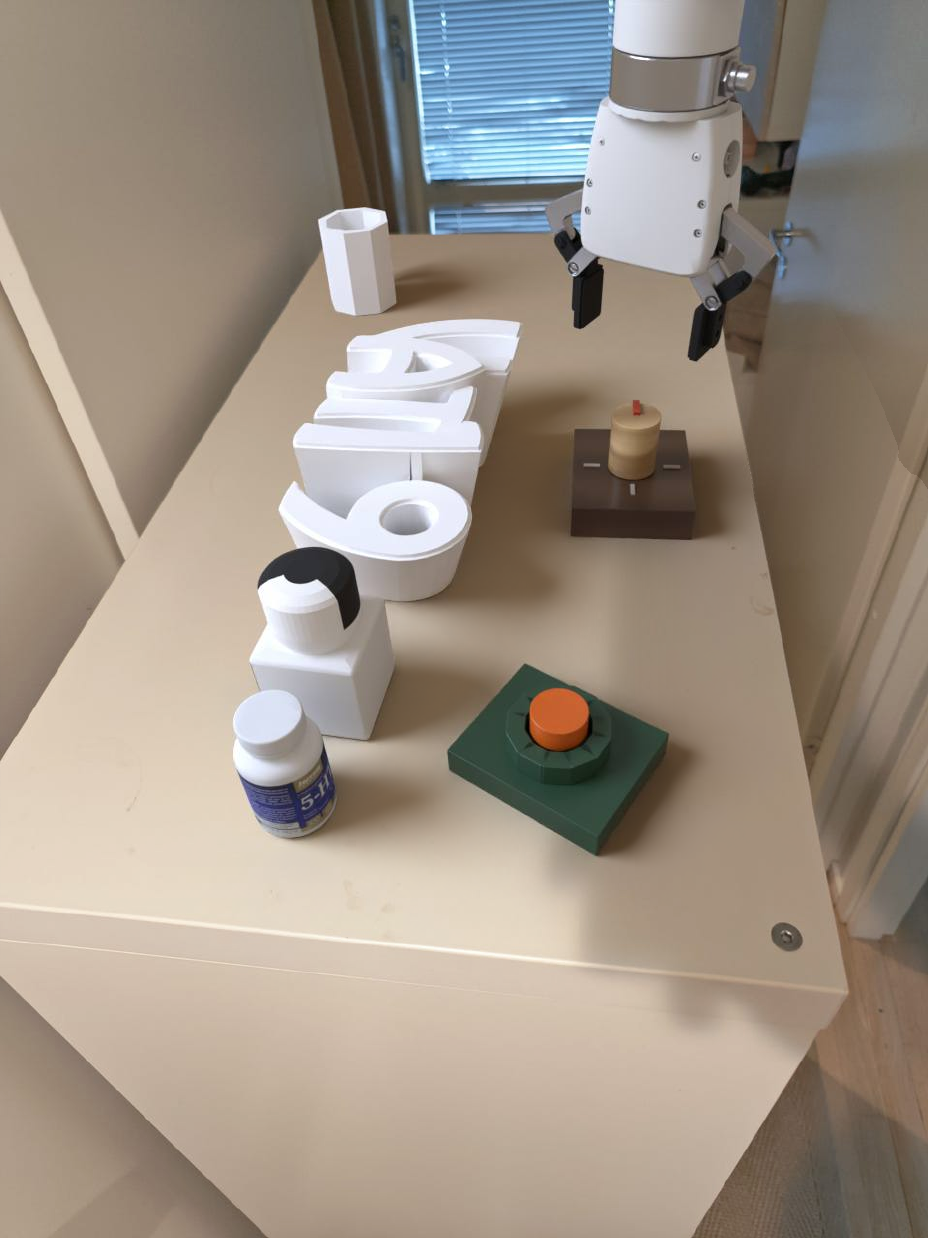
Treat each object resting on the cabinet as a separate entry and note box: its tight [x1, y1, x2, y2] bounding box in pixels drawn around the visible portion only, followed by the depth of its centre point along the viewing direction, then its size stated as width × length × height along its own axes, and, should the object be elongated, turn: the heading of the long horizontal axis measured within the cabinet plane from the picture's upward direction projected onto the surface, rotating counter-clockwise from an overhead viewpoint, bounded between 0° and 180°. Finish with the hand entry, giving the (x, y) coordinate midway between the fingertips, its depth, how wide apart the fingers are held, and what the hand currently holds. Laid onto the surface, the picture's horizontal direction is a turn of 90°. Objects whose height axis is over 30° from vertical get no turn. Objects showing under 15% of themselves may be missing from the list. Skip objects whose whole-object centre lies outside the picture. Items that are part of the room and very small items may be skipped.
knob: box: [608, 399, 662, 480], centre depth 71 cm, size 4×4×5 cm
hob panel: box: [569, 428, 697, 540], centre depth 74 cm, size 12×10×3 cm
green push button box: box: [446, 663, 670, 857], centre depth 54 cm, size 11×9×4 cm
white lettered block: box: [278, 318, 524, 602], centre depth 73 cm, size 35×16×11 cm, turn 167°
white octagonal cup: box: [317, 207, 398, 317], centre depth 104 cm, size 12×9×10 cm
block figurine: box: [249, 547, 396, 741], centre depth 56 cm, size 7×7×12 cm
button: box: [530, 688, 589, 751], centre depth 52 cm, size 4×4×2 cm
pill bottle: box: [232, 690, 338, 839], centre depth 51 cm, size 5×5×9 cm
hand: (641, 336), depth 65 cm, fingers open, 9 cm apart
